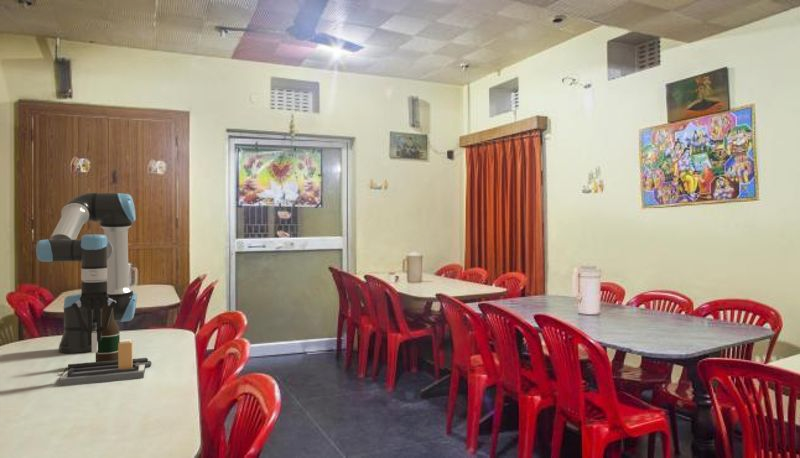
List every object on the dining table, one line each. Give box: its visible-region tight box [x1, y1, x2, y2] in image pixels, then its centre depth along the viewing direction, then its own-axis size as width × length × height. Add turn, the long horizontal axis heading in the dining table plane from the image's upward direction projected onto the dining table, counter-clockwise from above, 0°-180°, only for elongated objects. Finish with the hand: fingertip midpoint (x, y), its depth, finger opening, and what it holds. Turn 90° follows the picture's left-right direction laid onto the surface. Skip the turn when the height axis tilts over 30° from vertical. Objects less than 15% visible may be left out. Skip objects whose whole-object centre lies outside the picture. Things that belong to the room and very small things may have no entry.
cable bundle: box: [63, 357, 152, 374], centre depth 191 cm, size 27×4×3 cm, turn 113°
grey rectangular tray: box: [58, 362, 146, 387], centre depth 182 cm, size 12×24×3 cm, turn 113°
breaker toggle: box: [118, 338, 134, 370], centre depth 184 cm, size 4×4×10 cm
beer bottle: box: [95, 298, 121, 362], centre depth 200 cm, size 8×8×24 cm
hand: (94, 351), depth 181 cm, fingers closed
